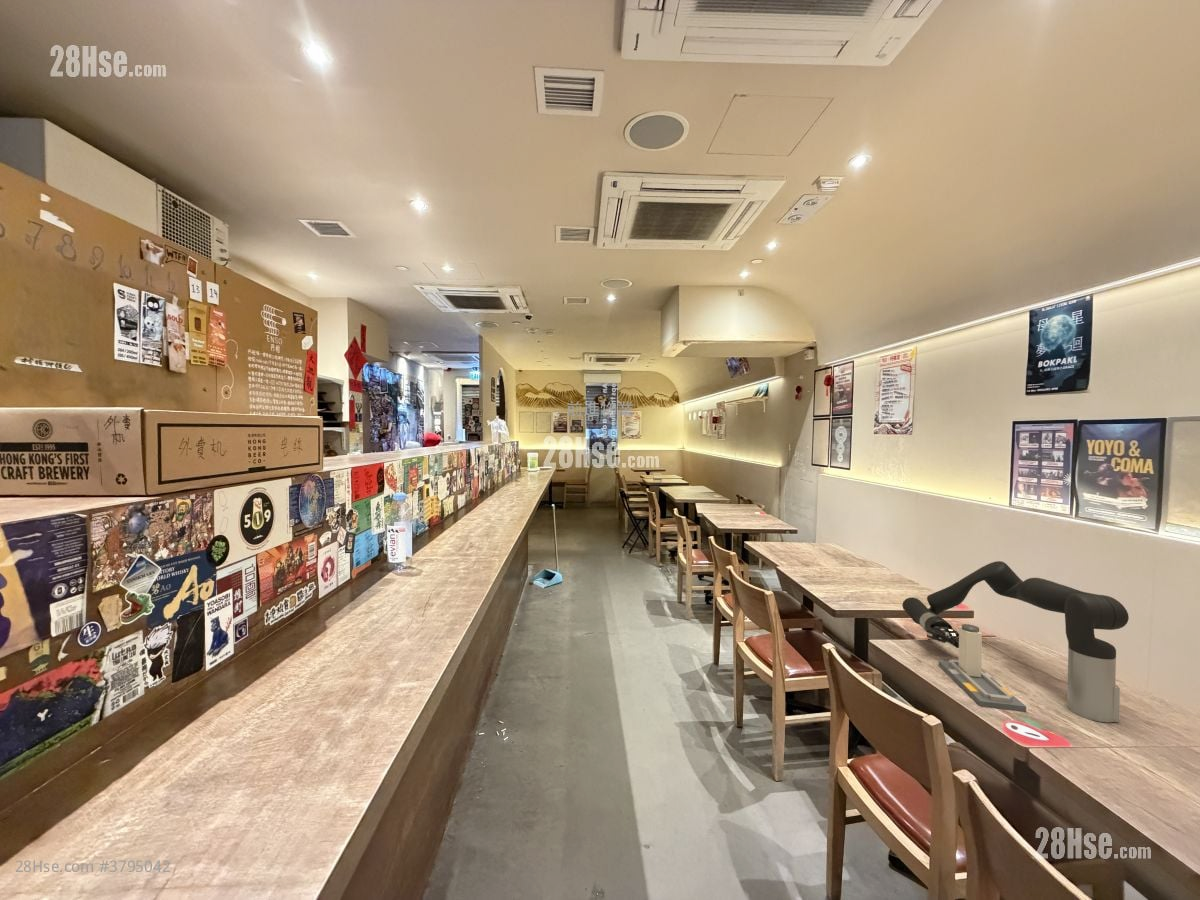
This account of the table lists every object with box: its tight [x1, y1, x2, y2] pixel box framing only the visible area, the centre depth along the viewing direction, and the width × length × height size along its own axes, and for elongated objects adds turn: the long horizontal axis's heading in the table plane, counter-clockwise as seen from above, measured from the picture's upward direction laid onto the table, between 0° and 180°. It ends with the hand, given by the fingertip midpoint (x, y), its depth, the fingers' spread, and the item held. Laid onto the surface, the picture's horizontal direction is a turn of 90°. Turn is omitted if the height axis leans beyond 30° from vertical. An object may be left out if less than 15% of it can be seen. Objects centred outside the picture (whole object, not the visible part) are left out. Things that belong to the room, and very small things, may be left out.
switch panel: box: [938, 659, 1027, 713], centre depth 145 cm, size 26×11×3 cm, turn 166°
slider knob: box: [958, 623, 983, 677], centre depth 150 cm, size 5×4×15 cm
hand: (959, 645), depth 156 cm, fingers closed
